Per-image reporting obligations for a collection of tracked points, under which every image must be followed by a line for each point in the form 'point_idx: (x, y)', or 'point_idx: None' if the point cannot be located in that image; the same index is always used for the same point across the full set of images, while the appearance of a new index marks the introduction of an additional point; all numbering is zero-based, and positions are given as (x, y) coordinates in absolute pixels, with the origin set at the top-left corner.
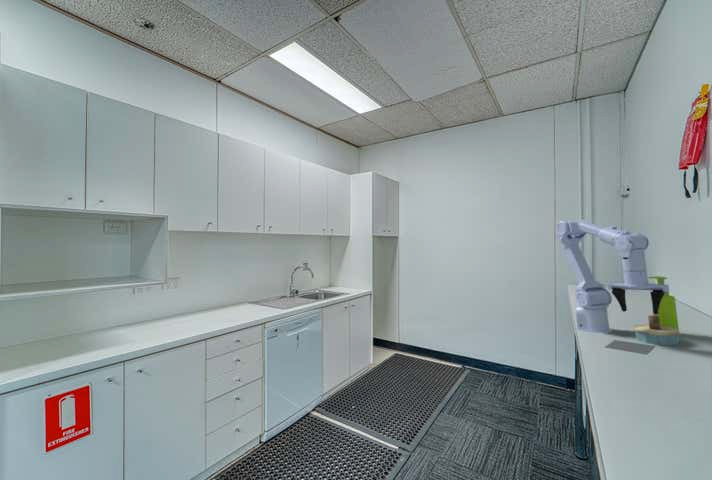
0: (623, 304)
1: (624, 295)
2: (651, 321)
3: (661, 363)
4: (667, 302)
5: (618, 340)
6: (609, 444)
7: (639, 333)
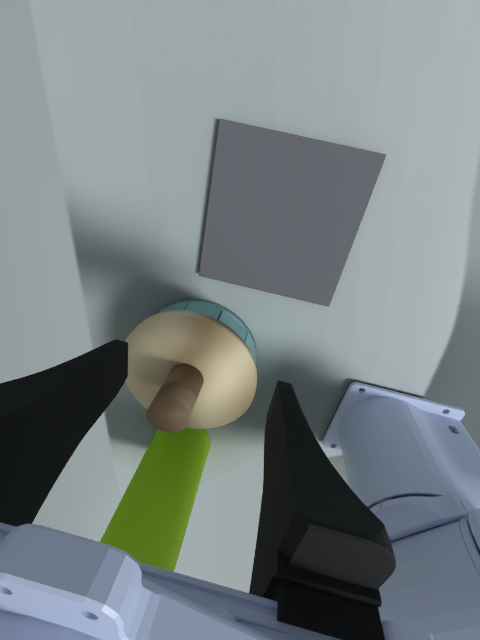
0: (279, 419)
1: (261, 529)
2: (182, 388)
3: (164, 8)
4: (112, 544)
5: (316, 302)
6: None
7: None
